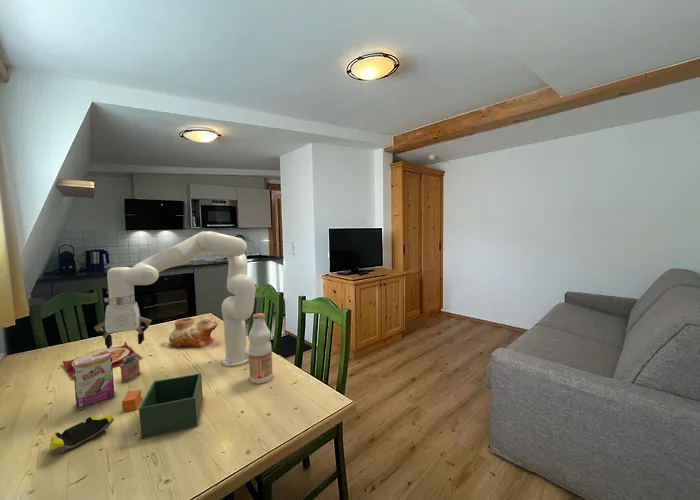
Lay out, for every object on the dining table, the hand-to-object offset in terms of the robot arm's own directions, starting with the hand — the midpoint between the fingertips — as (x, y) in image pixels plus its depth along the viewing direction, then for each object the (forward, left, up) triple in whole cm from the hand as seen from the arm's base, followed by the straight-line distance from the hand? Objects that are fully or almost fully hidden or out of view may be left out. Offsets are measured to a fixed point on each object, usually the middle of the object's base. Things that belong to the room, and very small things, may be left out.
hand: (125, 344), depth 112 cm
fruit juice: (-48, +3, -22) cm, 53 cm away
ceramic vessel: (-16, -51, -22) cm, 57 cm away
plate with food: (+23, -43, -22) cm, 53 cm away
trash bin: (-18, +18, -21) cm, 34 cm away
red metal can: (+5, -19, -22) cm, 29 cm away
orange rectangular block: (-2, +5, -21) cm, 22 cm away
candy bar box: (+12, -4, -22) cm, 25 cm away
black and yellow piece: (+7, +21, -22) cm, 31 cm away
